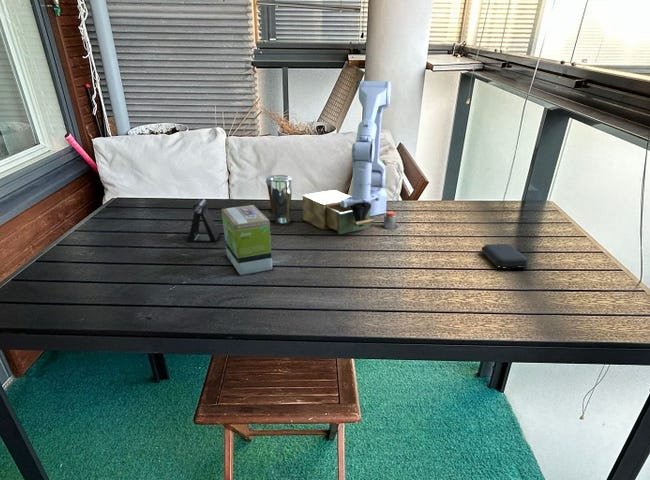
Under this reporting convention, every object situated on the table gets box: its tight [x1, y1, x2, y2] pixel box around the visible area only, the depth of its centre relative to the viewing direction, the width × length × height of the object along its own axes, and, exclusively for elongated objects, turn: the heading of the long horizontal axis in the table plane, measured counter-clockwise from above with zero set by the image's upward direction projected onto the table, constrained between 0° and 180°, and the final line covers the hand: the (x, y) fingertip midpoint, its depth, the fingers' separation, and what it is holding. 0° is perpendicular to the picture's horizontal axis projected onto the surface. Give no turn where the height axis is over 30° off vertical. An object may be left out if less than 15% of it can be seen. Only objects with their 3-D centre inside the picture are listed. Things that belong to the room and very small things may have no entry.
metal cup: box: [265, 174, 290, 213], centre depth 182 cm, size 10×10×12 cm
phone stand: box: [187, 198, 220, 243], centre depth 156 cm, size 9×6×12 cm, turn 88°
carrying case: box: [481, 243, 530, 270], centre depth 143 cm, size 11×3×15 cm
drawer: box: [325, 204, 375, 235], centre depth 163 cm, size 18×12×7 cm
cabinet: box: [302, 189, 352, 231], centre depth 172 cm, size 14×14×9 cm
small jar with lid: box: [383, 210, 398, 230], centre depth 168 cm, size 4×4×5 cm
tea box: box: [221, 204, 273, 276], centre depth 137 cm, size 15×10×15 cm
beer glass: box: [271, 176, 293, 226], centre depth 169 cm, size 7×7×15 cm
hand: (359, 225), depth 160 cm, fingers closed, pressing on drawer
